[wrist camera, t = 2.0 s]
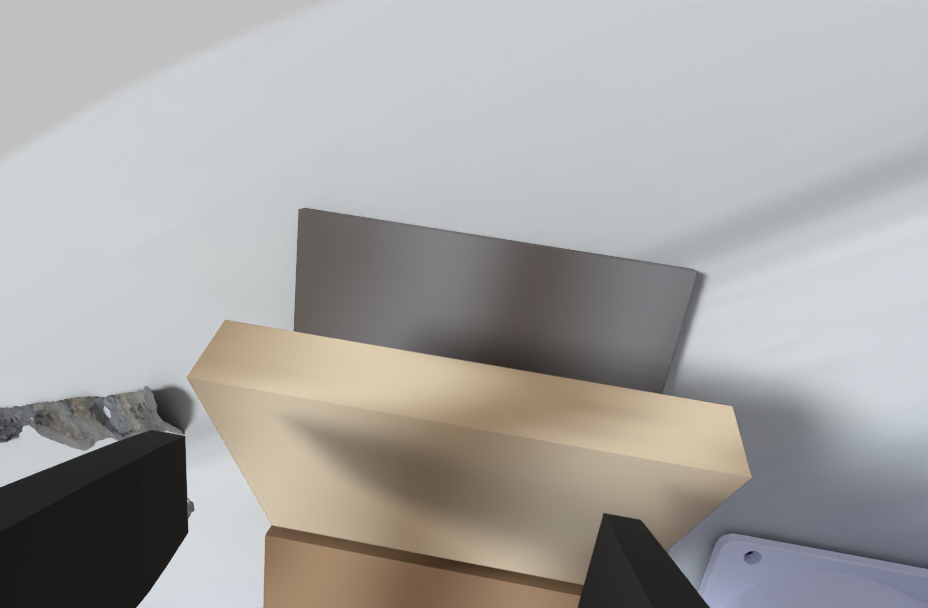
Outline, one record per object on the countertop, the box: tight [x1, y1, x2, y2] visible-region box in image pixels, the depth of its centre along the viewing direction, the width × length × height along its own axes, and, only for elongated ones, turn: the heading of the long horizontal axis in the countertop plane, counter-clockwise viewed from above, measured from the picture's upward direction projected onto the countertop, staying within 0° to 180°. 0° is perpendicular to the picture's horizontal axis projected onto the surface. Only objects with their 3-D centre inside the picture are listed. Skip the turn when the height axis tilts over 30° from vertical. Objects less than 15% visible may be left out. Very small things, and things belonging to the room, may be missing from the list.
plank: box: [187, 320, 752, 585], centre depth 12 cm, size 11×8×2 cm
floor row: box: [263, 208, 697, 608], centre depth 15 cm, size 11×16×2 cm
